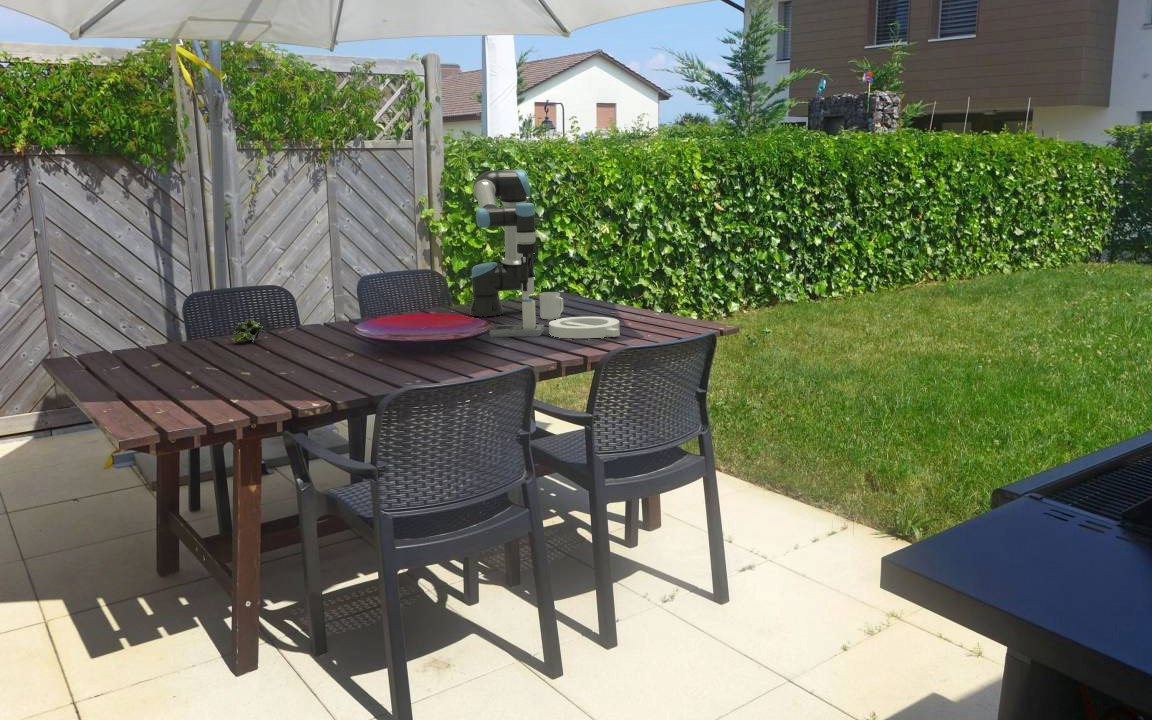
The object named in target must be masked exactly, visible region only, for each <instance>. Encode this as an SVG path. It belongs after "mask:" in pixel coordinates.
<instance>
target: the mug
mask: <svg viewBox="0 0 1152 720" xmlns="http://www.w3.org/2000/svg"><path fill="white" fill-rule="evenodd" d="M538 295H539V316H540V318H541V319H542V320H543V319H548V320H547V321H553V320H554V319H556V320H557V319H560V318H561V313H563V312H564V298H563V297H561V294H560V292H557V291H547V292H540V293H539V294H538Z"/></svg>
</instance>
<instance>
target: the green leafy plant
mask: <svg viewBox="0 0 1152 720" xmlns="http://www.w3.org/2000/svg"><path fill="white" fill-rule="evenodd" d="M237 325H238V327H235V328H234V329H235V330H234V331H233V336H234V337H233V339H232V343H233V342H236V343H237V342H239V341H241V340H243V339H245V338H247V339H248V340H249V341H250V340H251V339H252V341H251V343H252V342H253V343H254V341H255V340H258V339H259V334H260V333H261V334H265V333H266V330H264V324H263V323H262V324H261V322H258V321H255V320H254V319H251V318H249V319H247V320H243V322H238V324H237ZM257 338H258V339H257Z"/></svg>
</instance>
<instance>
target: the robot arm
mask: <svg viewBox="0 0 1152 720" xmlns="http://www.w3.org/2000/svg"><path fill="white" fill-rule="evenodd" d="M529 182H530V181H529V176H528V174H527V172H526V170H524V169H516V168H513V169H512V168H511V169H491V170H488V171H485V172H483V173H481V174H480V175H479V176H477V178H476V179H475V181H474V182H473V185H472V191H473V195H474V197H475V198H476V199H477V203H478V208H477V209H476V212H475V215H476V216H475V217H476V226H477V227H479V228H485V229H487V228H498V227H499V228H500V227H502V228H503V227H504V254H505V257H504V259H502V261H501V264H500V265H499V264H498V262H495V261H493V262H492V261H490V262H485V263H480V264H476V265H474V266H473V267H472V268H471V280H472V281H471V282H472V283H471V284H472V286H471V288H472V301H471V304H470V308H469V316H470V315H472V316H479V317H478V318H488V317H487V316H494V317H497V316H496V315H500V316H502V315H501V314H503V315H504V309H503V306H502V302H501V300H500V297H499V296H500V295H499V292H508V291H509V292H510V291H521V300H525V299H530V295H534V294H535V279H534V278H536V274H535V268H534V259H533V258H534V257H533V254H535V253H537V244H536V243H535V242H536V241H537V240H536V237H538V234H537V233H536V210H535V209H536V208H535V203H533V202H527V197H528V198H529V197H530V196H531V187H530V183H529ZM497 198H499V201H500V202H501V204H502V205H503V207H499V206H498V202H497ZM472 316H471V317H472ZM482 316H484V317H482Z"/></svg>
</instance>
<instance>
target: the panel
mask: <svg viewBox="0 0 1152 720" xmlns="http://www.w3.org/2000/svg"><path fill="white" fill-rule="evenodd" d="M543 331H544V332H545V324H537V323H536V329H523V324H495V325H493V327H492V328H491V329H490V330H489V337H490V338H491V337H492V338H493V337H494V338H496V337H499V338H500V337H502V338H503V337H506V338H511V337H514V338H515V337H541V336H540V335H542V334H543V333H544V332H543ZM542 332H543V333H542Z"/></svg>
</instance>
